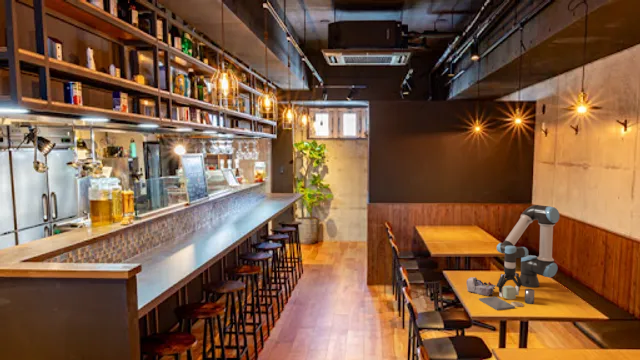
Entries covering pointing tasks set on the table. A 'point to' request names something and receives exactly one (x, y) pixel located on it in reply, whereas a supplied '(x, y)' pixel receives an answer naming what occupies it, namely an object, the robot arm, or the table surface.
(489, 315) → the table surface
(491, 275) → the table surface
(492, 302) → the slate board
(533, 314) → the table surface
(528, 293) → the dark tin
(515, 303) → the cork coaster
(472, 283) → the cell model
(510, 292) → the sage block
